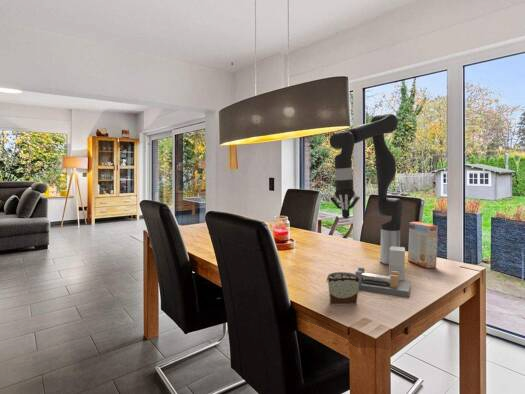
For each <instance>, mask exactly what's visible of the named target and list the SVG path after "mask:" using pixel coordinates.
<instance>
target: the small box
mask: <svg viewBox="0 0 525 394" xmlns="http://www.w3.org/2000/svg"><path fill="white" fill-rule="evenodd" d="M405 260H406V247H404V246H400V247H394V246H390V249H389V264H388V276H390V275H391V272H392V271H397V272H399V281H405V268H406V267H405V263H406V261H405Z"/></svg>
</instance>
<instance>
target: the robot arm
mask: <svg viewBox="0 0 525 394" xmlns="http://www.w3.org/2000/svg"><path fill="white" fill-rule="evenodd" d="M398 125H399V121H398V118H397V116H396V115H395V114H394V113H381V114H375V115H373V116H372V118H371V119H370V122H368V123H364V124H360V125H356V126H354V127H351V128H349V129H345V130H342V131H338V132H334V133H332V134H331V136H330V138H329V145H330V146H331V148H332V149H335V150H341V151H340V154H337V155H335V156H334V180H335V181H334V183H335V184H334V185H335V192H334V195H333V196H332V197H330V201H331V202H332V203H333V204H334V206H335V207H336V208H337V209H339V210H341V214H342V215H341V216H342V218H343V219H349V218H350V210H351V209H353V208H354V207H355V206H356V204H357V203H358V202H359V200H360V198H361V197H360V196H359V195H356V192H355V191H354V176H353V175H354V174H353V172H354V171H353V168H352V167H353V166H352V156H353V152H354V147H355V144H358V143H361V142H363V141H366V140H368V139H370V138H372V141H373V147H374V156H375V170H376V171H375V172H376V181H377V209H378V213H379V215H381V216H385V217H391V219H390V220H388V221H386V222H382V223H381V224H380V249H379V250H380V254H379V262H380V263H381V262H382V263H381V264H385V265H389V249H390V246H394V247H401V225H402V217H403V216H402V214H403V202H402V200H401V198H394V197H388V190H389V187H390V185H391V183H392V181H393V180H394V179H395V176H396V174H397V164H396V163H397V162H396V158H395V156H394V155H393V153H392V151H391V150H390V149H389V147H388V145H387V143H386V140H385V135H384V134H392V133H394V132H395V131H396V130H397V128H398ZM352 200H353V201H352ZM351 201H352V202H351Z"/></svg>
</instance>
